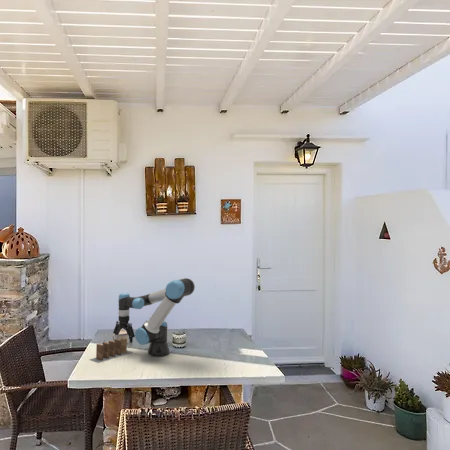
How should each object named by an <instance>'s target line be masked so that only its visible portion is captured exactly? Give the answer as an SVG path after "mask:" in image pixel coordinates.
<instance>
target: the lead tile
mask: <svg viewBox="0 0 450 450" xmlns="http://www.w3.org/2000/svg"><path fill="white" fill-rule="evenodd" d="M120 340H121V353H127V351H128V344H127V339H126V338H120Z"/></svg>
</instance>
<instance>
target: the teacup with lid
mask: <svg viewBox="0 0 450 450" xmlns="http://www.w3.org/2000/svg"><path fill="white" fill-rule="evenodd" d="M114 336H115V334H113V335H112V341H114V340H115V337H114ZM120 338H126V339H127V345H128V338H129V336H128V334H127V332H126V330H125V329H121V331H120V332H119V340H120Z"/></svg>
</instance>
